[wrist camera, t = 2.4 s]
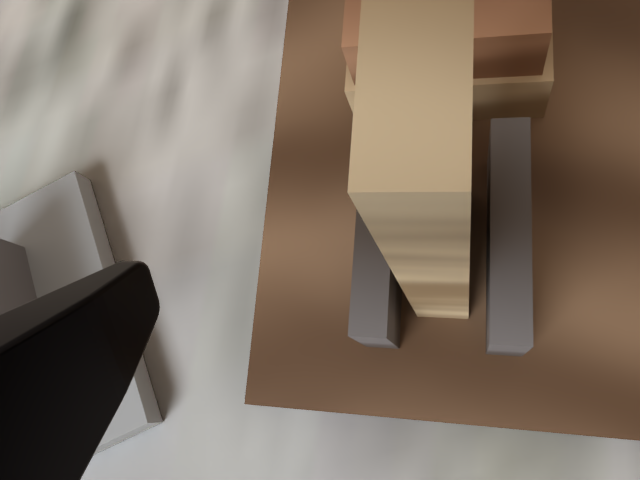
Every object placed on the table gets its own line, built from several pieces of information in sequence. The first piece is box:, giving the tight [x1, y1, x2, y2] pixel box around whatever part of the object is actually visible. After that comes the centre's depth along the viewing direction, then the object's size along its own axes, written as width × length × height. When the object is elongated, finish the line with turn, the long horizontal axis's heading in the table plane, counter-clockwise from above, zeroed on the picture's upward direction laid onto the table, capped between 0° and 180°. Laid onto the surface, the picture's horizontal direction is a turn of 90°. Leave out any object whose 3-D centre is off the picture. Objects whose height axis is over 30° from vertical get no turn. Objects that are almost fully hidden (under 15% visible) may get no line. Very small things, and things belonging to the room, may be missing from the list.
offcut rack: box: [245, 0, 640, 440], centre depth 18 cm, size 15×12×4 cm
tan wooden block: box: [347, 0, 474, 319], centre depth 13 cm, size 4×2×11 cm, turn 176°
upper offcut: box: [341, 0, 552, 85], centre depth 16 cm, size 4×5×2 cm, turn 86°
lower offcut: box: [344, 0, 554, 120], centre depth 18 cm, size 4×6×2 cm, turn 86°
